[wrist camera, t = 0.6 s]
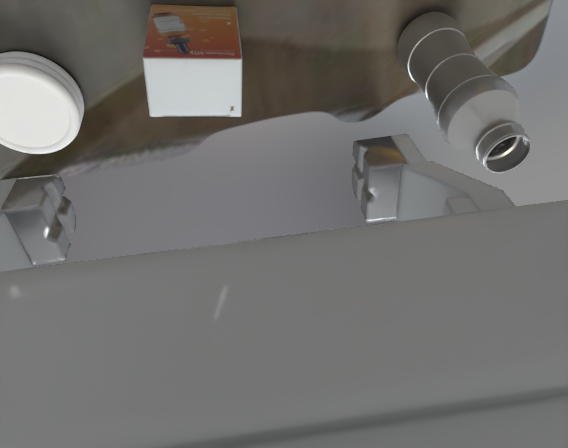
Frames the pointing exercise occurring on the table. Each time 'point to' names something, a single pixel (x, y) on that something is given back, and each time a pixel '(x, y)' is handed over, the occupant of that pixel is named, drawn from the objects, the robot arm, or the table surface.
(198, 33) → the small box
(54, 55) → the table surface
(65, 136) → the coaster
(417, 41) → the plastic bottle
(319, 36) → the table surface
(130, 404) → the robot arm
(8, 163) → the table surface
